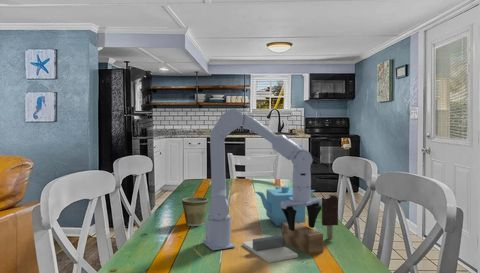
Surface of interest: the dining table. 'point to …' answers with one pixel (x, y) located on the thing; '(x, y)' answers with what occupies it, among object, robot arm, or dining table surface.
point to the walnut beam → (303, 238)
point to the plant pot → (195, 210)
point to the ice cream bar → (330, 213)
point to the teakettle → (274, 205)
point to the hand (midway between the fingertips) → (301, 228)
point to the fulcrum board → (272, 253)
